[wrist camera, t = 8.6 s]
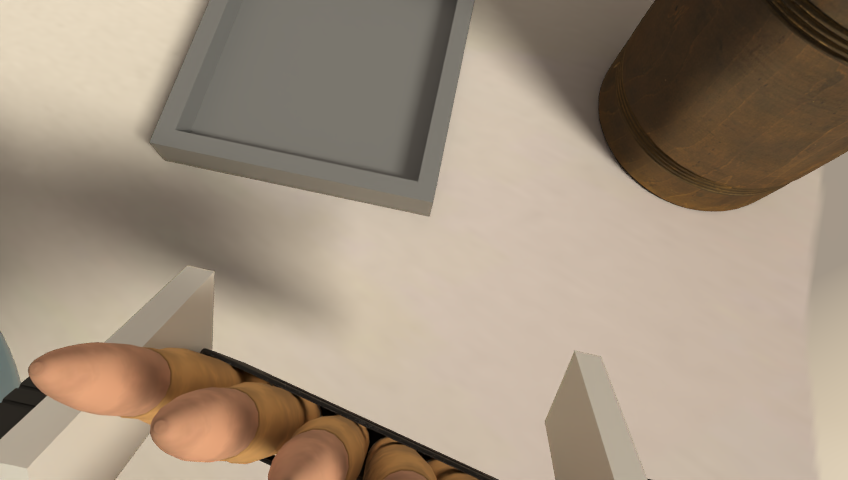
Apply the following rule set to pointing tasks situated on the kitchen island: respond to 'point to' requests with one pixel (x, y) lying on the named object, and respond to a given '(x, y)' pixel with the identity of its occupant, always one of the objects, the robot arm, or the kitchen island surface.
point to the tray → (321, 95)
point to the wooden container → (728, 98)
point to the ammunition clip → (234, 414)
